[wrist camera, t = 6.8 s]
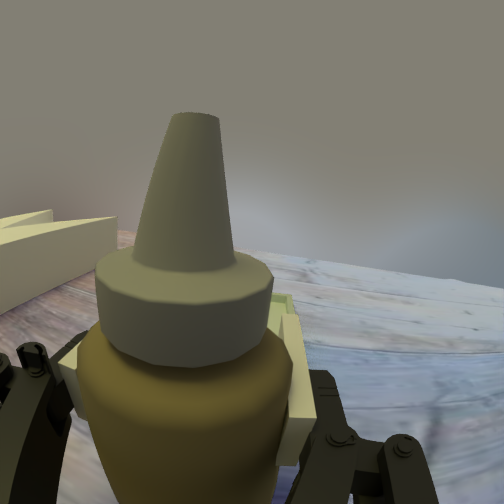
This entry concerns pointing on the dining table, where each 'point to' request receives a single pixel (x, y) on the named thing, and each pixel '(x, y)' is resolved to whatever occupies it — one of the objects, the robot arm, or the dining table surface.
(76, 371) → the robot arm
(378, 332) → the dining table surface
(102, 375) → the squeeze bottle
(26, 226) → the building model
